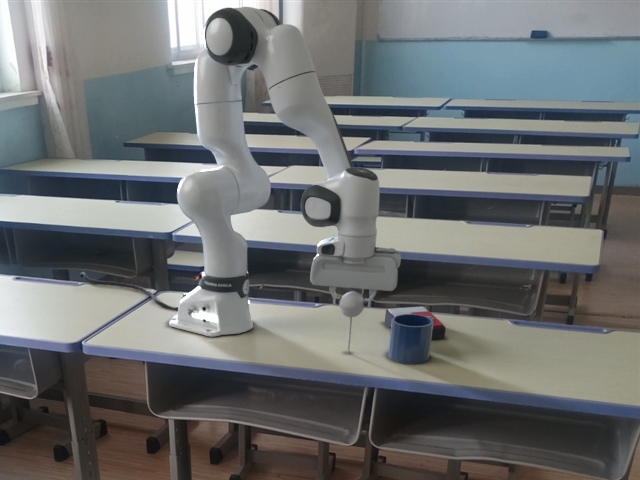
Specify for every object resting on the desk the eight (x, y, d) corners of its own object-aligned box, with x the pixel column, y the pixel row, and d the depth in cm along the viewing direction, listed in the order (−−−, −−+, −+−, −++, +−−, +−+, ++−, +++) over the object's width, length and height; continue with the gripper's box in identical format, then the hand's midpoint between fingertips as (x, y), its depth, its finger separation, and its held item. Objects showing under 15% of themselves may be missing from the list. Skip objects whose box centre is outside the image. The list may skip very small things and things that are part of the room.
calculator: (406, 327, 201) (385, 306, 213) (403, 343, 203) (383, 322, 215) (447, 324, 202) (424, 304, 214) (444, 340, 205) (422, 319, 217)
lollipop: (349, 347, 200) (354, 286, 192) (365, 354, 196) (371, 292, 187) (330, 352, 197) (334, 291, 189) (346, 359, 193) (351, 297, 185)
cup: (383, 360, 192) (387, 323, 187) (395, 347, 200) (398, 311, 195) (422, 366, 189) (427, 329, 184) (433, 353, 196) (437, 317, 191)
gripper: (403, 245, 183) (397, 305, 190) (315, 240, 187) (312, 298, 195) (400, 252, 177) (394, 313, 185) (310, 246, 182) (307, 306, 190)
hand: (351, 306), depth 190 cm, fingers closed on lollipop, 6 cm apart
